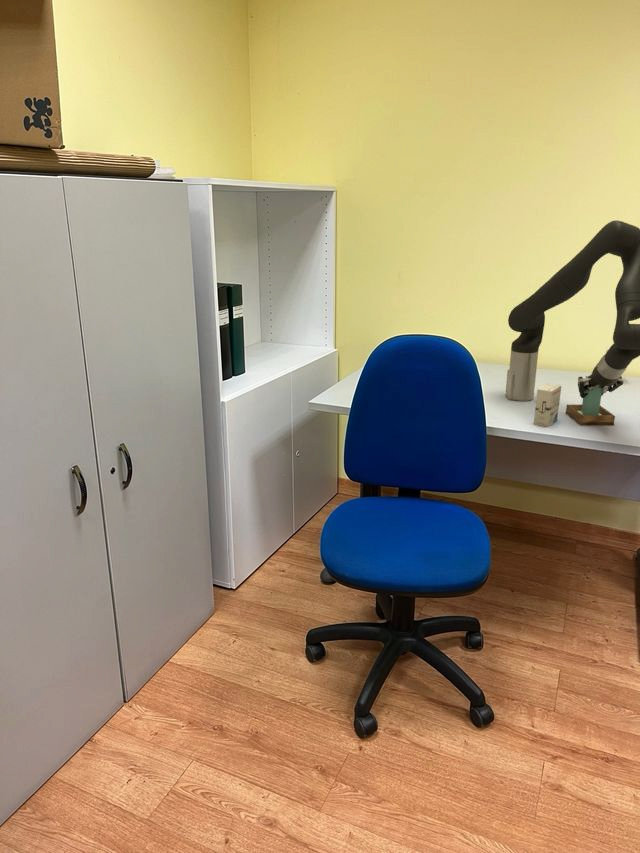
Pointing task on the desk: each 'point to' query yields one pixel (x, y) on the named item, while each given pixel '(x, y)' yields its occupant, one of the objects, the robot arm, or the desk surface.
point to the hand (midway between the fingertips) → (589, 395)
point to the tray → (590, 416)
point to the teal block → (592, 402)
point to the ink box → (547, 404)
